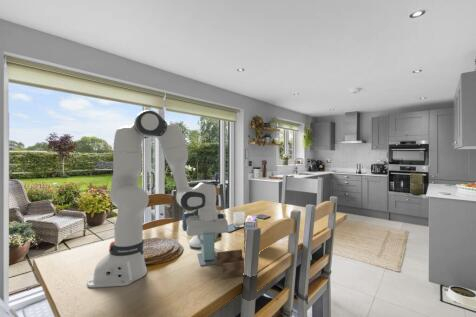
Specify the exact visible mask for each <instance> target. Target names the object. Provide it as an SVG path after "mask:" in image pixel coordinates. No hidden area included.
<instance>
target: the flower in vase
mask: <svg viewBox="0 0 476 317" xmlns="http://www.w3.org/2000/svg"><path fill="white" fill-rule="evenodd" d="M196 210H197V209H196ZM196 210H192V211H187V210H185V211H186V213H192V212H193V213H194V211H196ZM194 216H195V215H194ZM200 239H201V237H200ZM188 246H190V247H192V248H198V249H199V248H201V244H200V240H199V239H198V237H197V235H196V236H193V237H192V238H191V239H190V240H189V241H188Z"/></svg>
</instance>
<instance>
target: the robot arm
mask: <svg viewBox="0 0 476 317" xmlns="http://www.w3.org/2000/svg"><path fill="white" fill-rule="evenodd" d="M153 137H155V138H156V139H157V140H158V141H159V144H160V146H161V151H162V153H163V154H162V155H163V156H164V158H165V161H166V162H167V165H168V167H169V169H170V171H171V174H172V177H173V180H174V184H175V194H174V195H175V196H174V197H175V198H174V200H175V202H176V204H177V205H179V206H180V207H181V208H182V209H183V208H184V209H185V210H187V211H192V210H196V209H198V213H199V215H198V216H189V217H188V218H187V219H186V224H187V231H186V235H187V236H188V237H192V236H193V237H194V236H196V235H197V237H198V239H199V240H200V244H203V239H200V237H201V235H203V233H214V243H217V238H218V237H219V234H224V233H228V231H229V223H228V220H227V219H226V218H227V215H226V213H225V212H223V211H222V210H218V209H217V205H216V204H217V188H216V185H215V184H214V183H213V182H208V181H200V182H199V183H198V184H196V185H195V186H193V187H191V186H190V185H189V182H188V177H187V173H186V165H187V162H188V160H189V151H188V147H187V146H188V145H187V143H186V140H185V137H184V134H183V132H182V130H181V128H180V126H179V125H178V124H177V123H175V122H174V123H173V122H169V123H167V121H166V120H165V119H164V118H163V117H162V116H161V115H160V114H159V113H157V112H156V111H154V110H149V109H147V110H142V111H141V112H139V113H138V114H137V115H136V117H135V119H134V122H133V124H132V125H129V126H128V125H124V126H121V127H118V128H117V129H116V131H115V133H114V138H113V150H112V154H113V156H112V157H113V158H112V159H113V162H112V163H113V169H112V170H113V172H112V179H111V185H110V191H109V193H108V194H109V195H108V196H109V197H108V198H109V200H110V202H111V204H112V205H113V206H115V207H116V208H117V215H116V220H115V223H114V226H113V227H114V229H113V230H114V233H113V234H114V240H113V241H111V242H110V243H109V244H110V245H109V248H108V249H109V250H108V254H107V255H105V256H104V257H102V258H101V259H100V260H99V261H98V262H97V264H96V266H95V268H94V272H93V273H91V275H90V276H89V277H88V280H87V287H88V288H104V287H105V288H107V287H125V286H129V285H131V284H132V283H134V282H135V281H138V280H139V279H141V278H143V277H144V276H145V275H147V273H148V269H147V266H146V262H145V261H146V260H145V256H144V253H145V242H144V241H145V240H144V239H143V236H144V235H143V234H144V233H143V222H144V217H145V211H146V208H147V207H148V204H149V201H150V200H149V195H148V193H147V191H146V190H145V189H143V188H142V187H140V186H139V179H140V175H141V173H142V170H143V167H142V163H143V161H142V160H143V159H142V158H143V157H142V156H143V154H142V151H143V150H142V144H143V141H144V140H145V139H148V138H153ZM184 209H183V210H184Z"/></svg>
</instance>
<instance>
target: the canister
mask: <svg viewBox="0 0 476 317" xmlns="http://www.w3.org/2000/svg"><path fill="white" fill-rule="evenodd" d="M182 209H183V210H182V211H181V213H182V216H181V217H182V224H181V225H182V226H181V227H182V230H183V229H184V230H183V231H185V230H187V224H186V219H187V218H188V217H189V216H194V215H195V216H198V215H199V213H198V209H197V210H196V211H194V213H193V212H192V213H186V211H185V209H184V208H182Z"/></svg>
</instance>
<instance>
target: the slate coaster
mask: <svg viewBox="0 0 476 317" xmlns="http://www.w3.org/2000/svg"><path fill="white" fill-rule="evenodd" d="M196 255H197V258H198V262H199V265H200V267H207V266H213V265H217V253H216V251H214V259H212V260H204V259H203V256H202V253H197V254H196Z"/></svg>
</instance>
